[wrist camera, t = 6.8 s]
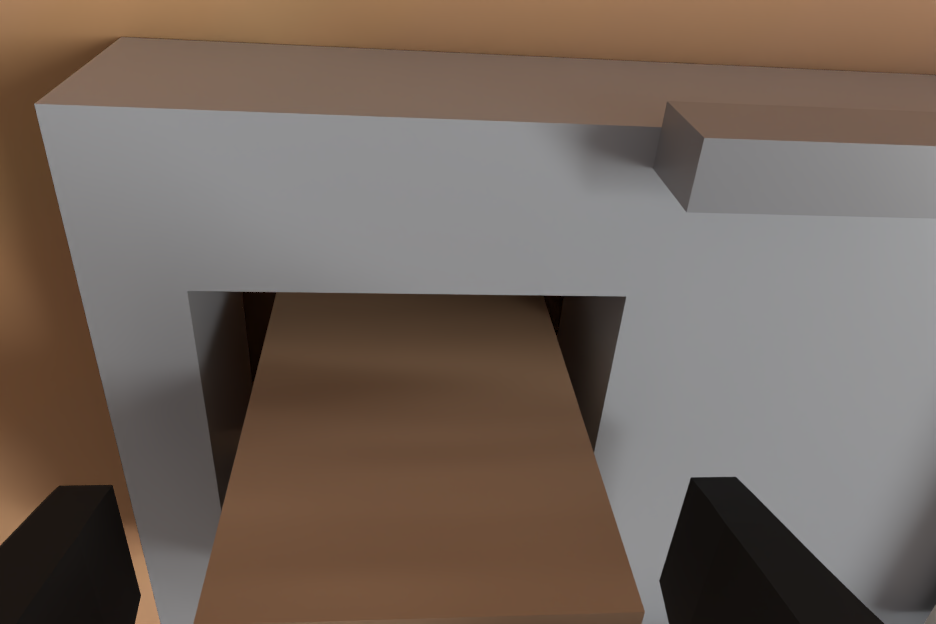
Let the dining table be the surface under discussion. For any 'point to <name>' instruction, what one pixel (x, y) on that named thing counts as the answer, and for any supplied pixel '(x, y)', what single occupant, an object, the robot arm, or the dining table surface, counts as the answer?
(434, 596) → the block
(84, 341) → the dining table surface
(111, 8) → the dining table surface
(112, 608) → the robot arm
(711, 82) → the housing
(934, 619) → the lid
